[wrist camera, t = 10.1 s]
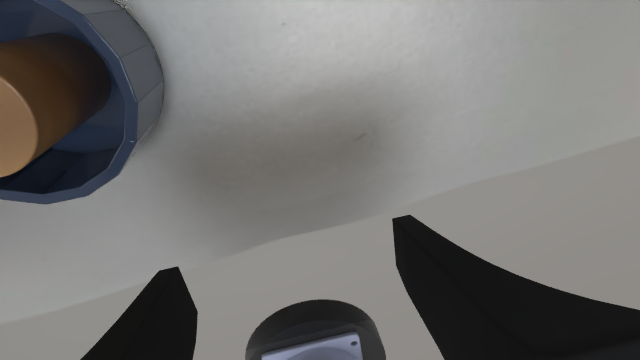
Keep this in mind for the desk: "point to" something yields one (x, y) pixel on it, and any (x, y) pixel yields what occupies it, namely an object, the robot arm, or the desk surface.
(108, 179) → the cup
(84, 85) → the brown cylinder
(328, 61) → the desk surface
